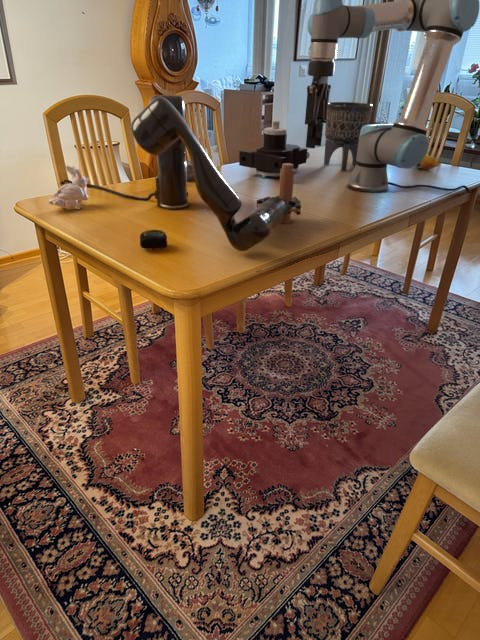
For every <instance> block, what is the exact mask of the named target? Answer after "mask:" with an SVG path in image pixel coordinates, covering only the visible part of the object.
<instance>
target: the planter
mask: <svg viewBox="0 0 480 640" xmlns="http://www.w3.org/2000/svg"><path fill="white" fill-rule="evenodd" d="M373 107H374V106H373V104H372V103H367V102H353V101H333V102H328V110H327V119H326V120H327V122H326V123H325V124H324V125H325V126H324V139H325V144H324V156H323V157H324V158H323V165H325V166H328V165H330V163H331V158H332V156H333V154H334V153H335V151H336V150H337V149H340V148H341V150H342V153H341V166H340V170H341V172H345V171H347V167H348V166H347V165H348V159H349V152H350V154H351V157H352V158H351V159H352V160H351V161H352V166H353V167H355V165H356V158H357V150H358V142H359V136H360V131H361V128H362V127H363V126H365V125H370V121H371V116H372V112H373Z"/></svg>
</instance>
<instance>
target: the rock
mask: <svg viewBox="0 0 480 640" xmlns="http://www.w3.org/2000/svg"><path fill="white" fill-rule="evenodd" d="M186 172H187V182H195V180H194V174H193V168H192V163H191V160H188V161H186Z"/></svg>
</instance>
